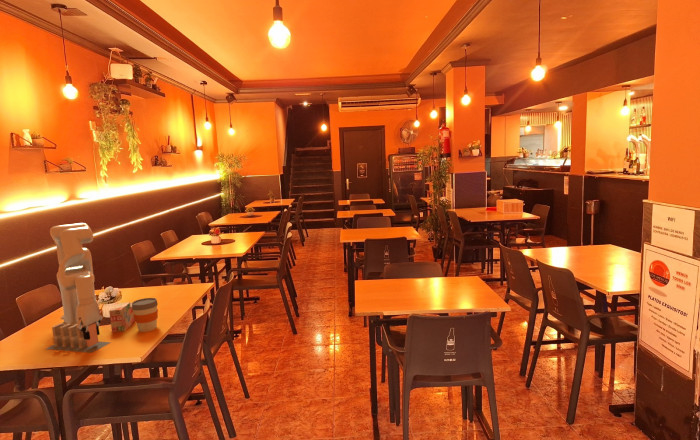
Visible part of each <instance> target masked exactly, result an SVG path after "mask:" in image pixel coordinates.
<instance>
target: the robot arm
mask: <svg viewBox="0 0 700 440" xmlns="http://www.w3.org/2000/svg"><path fill="white" fill-rule="evenodd" d="M49 234H50V237H51V239H52V240H53V241H54V244H55V245H56V246H55V247H56V255H57V262H58V271H57V273H56V280H57V283H58V287H59V291H60V296H61V303H62V309H63V310H62V311H63V315H62V316H60V320H63V322H62V323H63V324H64V325H67V324H71V325H72V326H74V325H76V324H77V327H76V328H77V329H79V330H81V331H82V332H83V336H84V339H85V340H89V339H90V332H89V331H88V326H89V325H90V324H92V323H96V329H97V335H98V336H99V335H101V334H100V328H99V327H100V324H101V321H102V320H103V316H102V315H101V310H100V307H99V304H98V301H97V295H96V292H95V291H96V290H95V284H94V282H96V281H95V279H96V278H95V274H94V269H93V268H94V267H93V258H92V253H91V251H90V249H89V248H87V247H83V244H89V243H92V242H93V240H94V233H93V231H92V229H91V227H90V226H89V225H88V223H85V222H78V223H70V224H62V225H61V224H60V225H54V226H52V227H51V228H50V229H49ZM81 326H82V327H81Z"/></svg>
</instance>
